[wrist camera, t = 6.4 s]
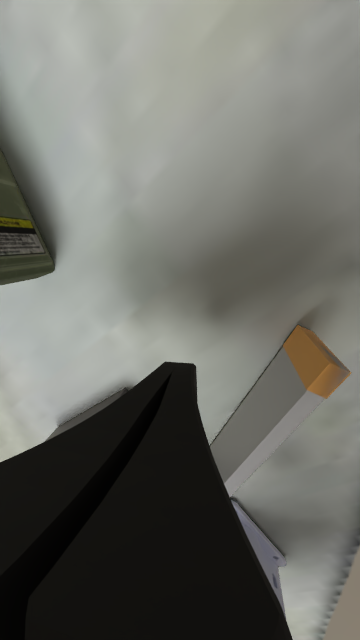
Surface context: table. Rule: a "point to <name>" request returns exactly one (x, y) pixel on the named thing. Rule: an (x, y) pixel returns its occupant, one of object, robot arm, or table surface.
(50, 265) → the handheld radio
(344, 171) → the table surface
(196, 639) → the robot arm
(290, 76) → the table surface
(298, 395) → the side door
